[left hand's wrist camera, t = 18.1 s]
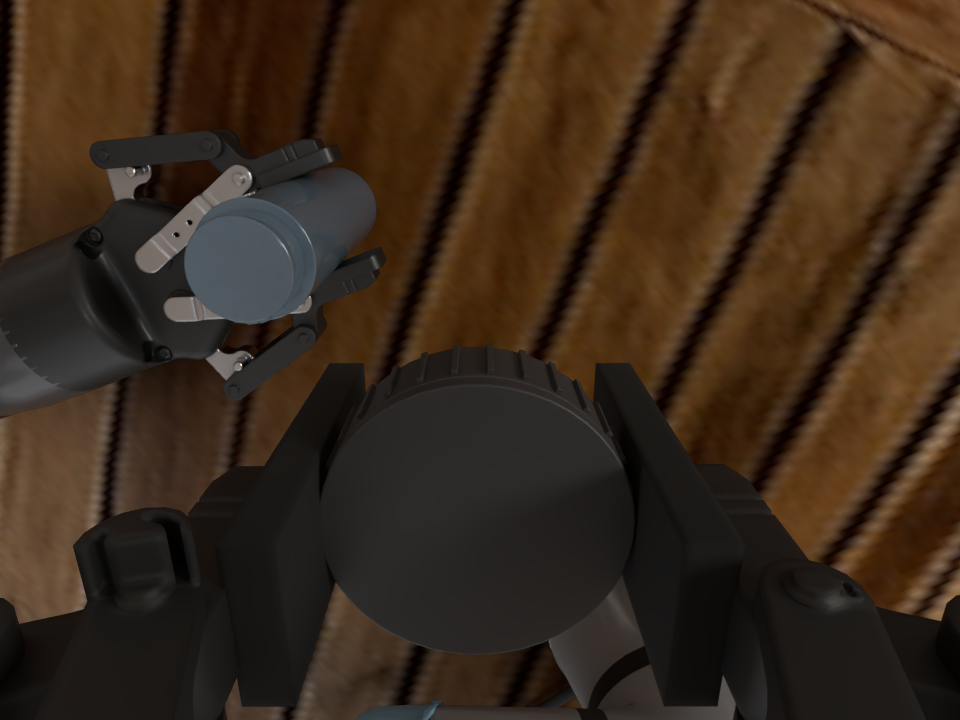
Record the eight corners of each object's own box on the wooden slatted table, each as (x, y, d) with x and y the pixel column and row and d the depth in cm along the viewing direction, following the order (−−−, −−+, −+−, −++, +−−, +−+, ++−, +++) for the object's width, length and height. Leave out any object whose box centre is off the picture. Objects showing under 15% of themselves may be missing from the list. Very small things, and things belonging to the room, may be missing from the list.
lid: (579, 608, 13) (594, 678, 11) (320, 568, 13) (297, 634, 11) (653, 371, 11) (683, 414, 10) (354, 317, 11) (331, 350, 9)
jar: (281, 199, 37) (143, 258, 22) (340, 149, 36) (239, 174, 21) (333, 262, 38) (238, 358, 23) (392, 215, 37) (332, 284, 22)
